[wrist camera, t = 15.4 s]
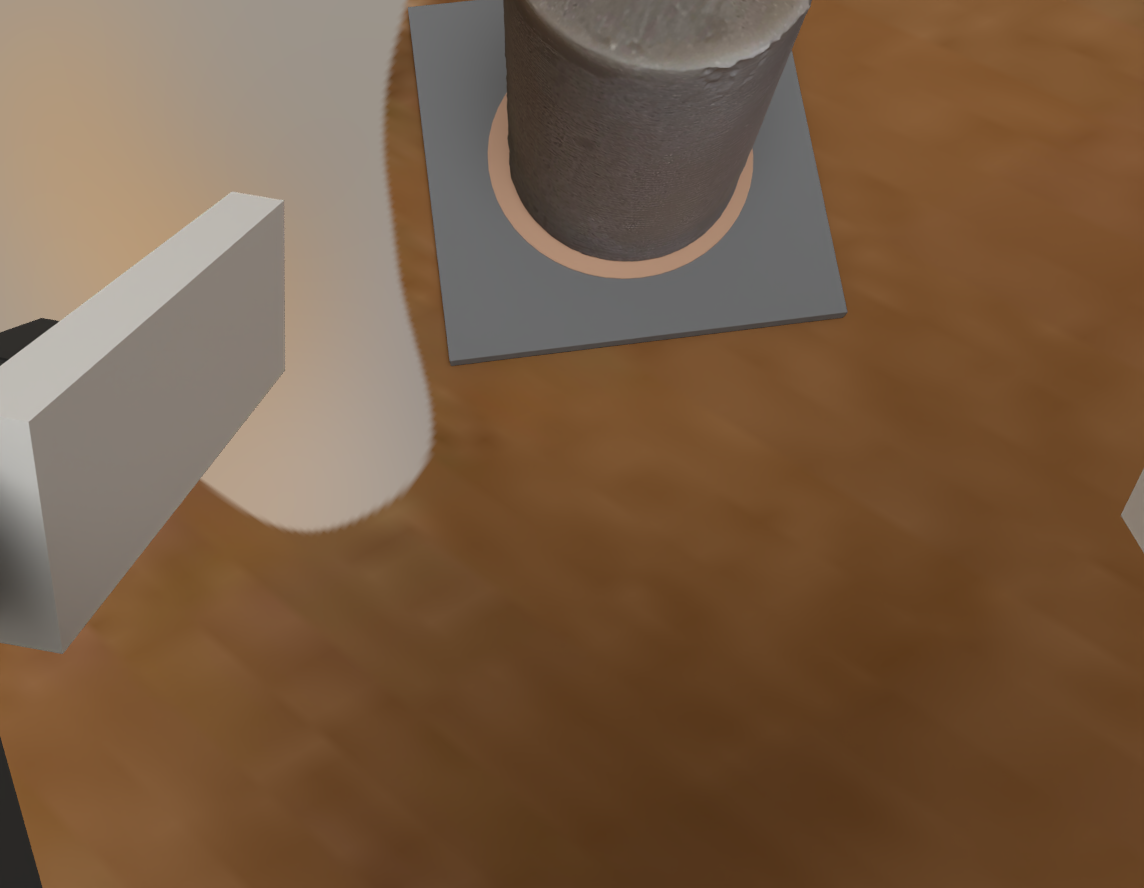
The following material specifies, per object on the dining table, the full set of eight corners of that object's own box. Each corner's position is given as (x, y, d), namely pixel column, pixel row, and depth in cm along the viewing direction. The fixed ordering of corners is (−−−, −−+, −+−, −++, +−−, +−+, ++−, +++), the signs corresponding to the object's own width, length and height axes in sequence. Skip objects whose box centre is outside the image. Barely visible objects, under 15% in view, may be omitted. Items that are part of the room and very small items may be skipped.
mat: (771, -22, 47) (774, -32, 46) (843, 317, 43) (848, 311, 42) (409, 16, 46) (407, 6, 45) (451, 366, 42) (449, 360, 41)
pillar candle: (462, 126, 44) (425, -155, 29) (652, 11, 45) (707, -312, 31) (599, 310, 42) (631, 109, 27) (791, 183, 44) (919, -70, 29)
